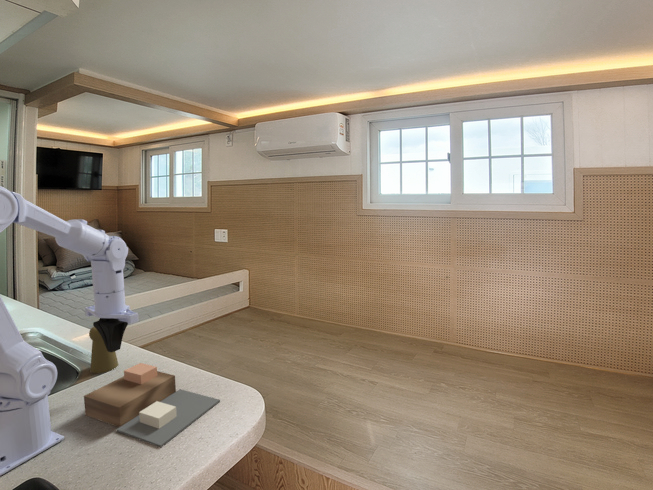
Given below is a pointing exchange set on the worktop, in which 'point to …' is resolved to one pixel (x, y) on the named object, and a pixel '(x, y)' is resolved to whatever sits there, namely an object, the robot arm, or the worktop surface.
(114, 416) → the walnut board
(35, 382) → the robot arm
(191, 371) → the worktop surface
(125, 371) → the terracotta tile
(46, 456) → the worktop surface
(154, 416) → the cream tile
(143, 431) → the rubber mat
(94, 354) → the olive tall rounded piece
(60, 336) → the worktop surface
